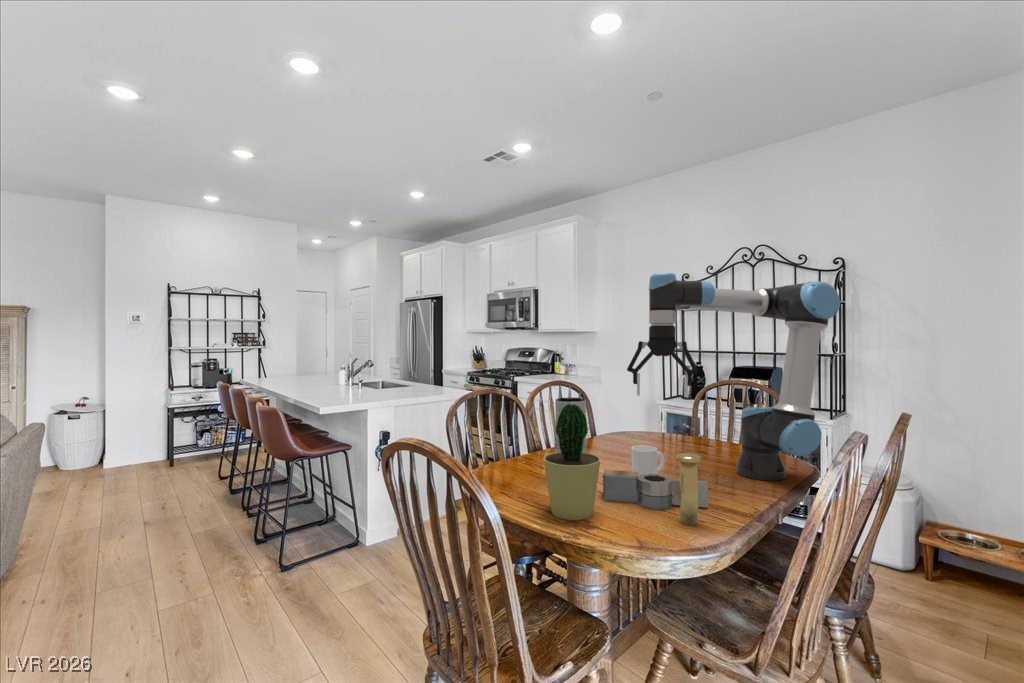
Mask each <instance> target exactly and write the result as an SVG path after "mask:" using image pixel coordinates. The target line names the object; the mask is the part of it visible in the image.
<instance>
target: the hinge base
mask: <svg viewBox="0 0 1024 683" xmlns="http://www.w3.org/2000/svg"><path fill="white" fill-rule="evenodd" d="M604 479H605V499H604V501H606V502H618V503H629V504H631V503H632V504H637V505H639V506H640V507H642V508H644V509H645V508H646V509H649V510H656V511H657V510H659V511H661V510H662V511H663V510H669V509H671V508H672V507H673V493H672V494H670V495H668V496H650V495H646V494H642V493H640V492H639V491H638V489H637V476H621V475H605V476H604Z"/></svg>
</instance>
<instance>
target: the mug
mask: <svg viewBox="0 0 1024 683" xmlns="http://www.w3.org/2000/svg"><path fill="white" fill-rule="evenodd" d="M658 457H659V465H658ZM664 466H665V457H664V454H663V453H662V452H661V451H659V450H658V447H654V446H651V445H645V444H644V445H642V444H641V445H638V444H637V445H633V446H631V471H633V472H638V476H639V475H641V474H658V473H660V472H661V471H663V470H662V469H663V468H664Z"/></svg>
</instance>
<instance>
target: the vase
mask: <svg viewBox="0 0 1024 683" xmlns="http://www.w3.org/2000/svg"><path fill="white" fill-rule="evenodd" d="M554 403H555V408H554V409H555V410H554V411H555V427H556V426H557V422H556V421H557V420H558V419H557V418H558V417H559V416H558V415H560V413H561V412H560V411H562V410H561V409H563V408H564V407H565V406H566V405H568V404H569V403H570V404H572V405H573V404H575V405H576V406H577V405H578V407H580V406H581V407H580V409H581V410H582V411H583V413H584V415H585V417H586V418H587V400H586V399H585V398H582V397H560V398H556V399H555V401H554ZM563 404H564V405H563ZM557 409H558V410H559V411H558V410H557ZM556 419H557V420H556ZM558 438H559V437H558V435H557V433H556V432H555V452H559V451H560V452H561V450H560V445H559V442H558V441H557V440H559V439H558ZM586 438H587V436H586V437H585V438H584V442H583V444H584V445H585V446H584V445H583V447H582V452H584V453H587V439H586ZM557 443H558V444H557Z"/></svg>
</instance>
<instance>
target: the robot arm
mask: <svg viewBox="0 0 1024 683" xmlns="http://www.w3.org/2000/svg"><path fill="white" fill-rule="evenodd" d="M648 291H649V293H648V295H649V298H648V299H649V305H648V306H649V308H648V309H649V311H648V314H649V315H648V324H650V325H649V327H648V341H642V340H640V341H638V344H637V349H636V351H635V353H634V355H633V357H632V359H631V361H630V362H629V364H628V366H627V368H626V371H628V372H630V373H632V383H633V385H636V396H640V395H641V374H640V373H638V372H640V370H641V369H642V368H643V367H644V366H645V364H646V363H647V362H648V361H649V360H650V359H651V358H652V357H653V356H656V357H669V356H670V355H671V357H672V358H673V359H674V360H675V361H676V362H677V364H678V365H679V366H680V367H681V368H682V369H683V370H684V371H685V373H686V374H685V373H684V374H683V375H684V377H683V378H684V382H683V384H684V386H683V388H684V390H683V391H684V392H683V394H684V395H683V396H684V398H688V396H689V395H688V394H689V393H688V389H689V387H691V386H692V382H693V380H692V378H693V375H694V374H698V373H699V369H698V367H697V365H696V363H695V362H694V359H693V358H692V357H693V356H692V355H691V353H690V351H689V350H688V345H687V344H688V343H687V342H686V341H684V340H682V341H680V342H679V341H678V342H677V341H676V326H675V324H676V309H677V310H678V309H679V310H692V311H693V310H695V311H696V310H697V311H708V312H709V311H713V312H725V313H726V312H728V313H729V312H730V313H742V314H743V313H744V314H752V315H753V316H754V317H761V318H762V317H763V318H769V319H774V320H776V319H777V320H780V321H781V320H783V321H784V325H785V326H786V327H788V335H787V341H786V349H785V357H784V365H783V370H782V377H781V384H780V393H779V400H778V403H777V404H775V405H774V406H769V407H768V406H767V407H766V406H764V407H763V406H762V407H761V406H760V407H758V406H757V407H756V406H755V407H754V406H753V407H745V408H743V409H742V410H741V418H740V420H741V421H740V422H741V452H740V453H739V454H740V455H739V457H738V460H737V462H736V465H735V466H736V467H735V471H736V473H737V474H738V475H739V476H742V477H745V478H747V479H748V478H749V479H753V480H760V481H782V480H785V479H786V478H787V469H786V467H785V464H784V461H783V458H782V456H781V452H783V453H785V454H787V455H792V456H796V457H804V456H808V455H810V454H811V453H812V452H815V451H816V450H817V448H818V447H819V445H820V443H821V441H822V429H821V428H820V426H819V424H818V423H817V422H816V421H815V418H816V414H815V412H814V411H813V410H812V409H811V405H812V404H811V403H812V399H813V398H812V396H813V391H814V390H813V389H814V382H815V376H816V369H817V362H818V354H819V347H820V341H821V334H822V333H821V332H822V331H823V330H825V329H826V328H828V325H829V319H832V318H833V317H834V316H836V314H837V313H838V312H839V310H840V306H841V300H840V296H839V293H838V291H837V290H835V288H834V286H833V285H831V284H830V283H828V282H826V281H825V282H824V281H821V280H820V281H807V282H803V283H795V284H791V285H790V284H788V285H782V286H777V287H776V286H775V287H771V288H762V287H760V288H757V289H754V290H745V289H730V288H715V286H714V285H713V283H712V282H710V281H705V280H704V281H703V280H678V279H677V276H676V274H675V273H674V272H673V273H672V272H657V273H652V274H651V276H650V277H649V286H648ZM646 346H647V347H648V348H649V350H650V351H649V352H648V354H646V355H645V357H644V358H643V359H642V360H640V362H639V363H638V365H637V366H636V367H635V368H634V365H635V364H636V362H637V360H638V358H639V356H640V354H641V352H642V350H643V349H645V348H646ZM677 347H679V349H680V350H682V352H683V354H684V356H685V358H686V359H687V362H688V363H689V365H690V367H691V369H690V368H689V367H688V366H687V365H686V364H685V362H684V361H683V360H682V359H681V358H680V357H679V356H678V355H677V354H676V352H675V350H676V348H677Z"/></svg>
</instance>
